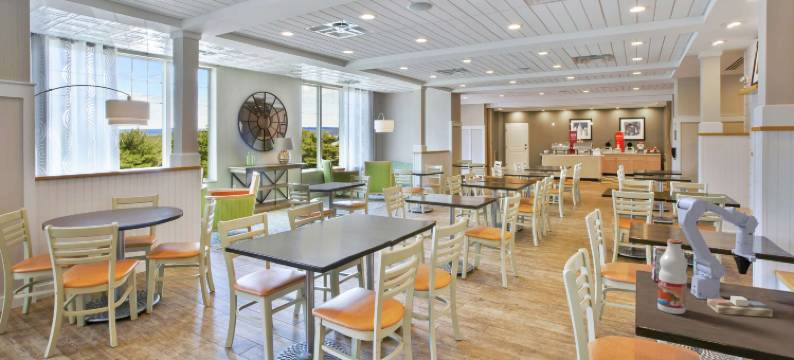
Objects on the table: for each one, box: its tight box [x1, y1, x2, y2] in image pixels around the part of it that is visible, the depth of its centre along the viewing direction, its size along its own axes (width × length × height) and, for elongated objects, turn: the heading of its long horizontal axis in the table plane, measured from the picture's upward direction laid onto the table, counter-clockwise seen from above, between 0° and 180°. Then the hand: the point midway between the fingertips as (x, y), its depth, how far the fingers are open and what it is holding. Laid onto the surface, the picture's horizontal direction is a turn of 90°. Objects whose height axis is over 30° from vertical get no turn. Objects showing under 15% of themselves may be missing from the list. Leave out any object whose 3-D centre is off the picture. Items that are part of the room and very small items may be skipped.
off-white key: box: [729, 295, 749, 306], centre depth 169 cm, size 4×4×2 cm
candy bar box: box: [651, 245, 684, 283], centre depth 204 cm, size 11×5×16 cm, turn 71°
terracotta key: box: [713, 298, 730, 306], centre depth 171 cm, size 4×4×2 cm
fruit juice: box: [657, 238, 688, 315], centre depth 170 cm, size 9×9×28 cm
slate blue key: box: [748, 300, 767, 308], centre depth 168 cm, size 4×4×2 cm
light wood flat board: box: [706, 299, 774, 318], centre depth 170 cm, size 18×9×2 cm, turn 77°
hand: (742, 273), depth 185 cm, fingers closed
